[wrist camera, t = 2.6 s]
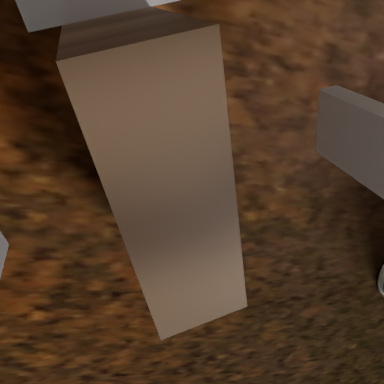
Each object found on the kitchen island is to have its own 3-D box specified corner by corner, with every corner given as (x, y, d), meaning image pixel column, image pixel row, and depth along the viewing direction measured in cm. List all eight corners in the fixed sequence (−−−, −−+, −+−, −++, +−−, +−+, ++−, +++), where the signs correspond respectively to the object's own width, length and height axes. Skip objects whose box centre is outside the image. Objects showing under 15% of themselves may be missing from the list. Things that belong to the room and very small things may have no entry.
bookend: (207, 192, 19) (275, 295, 13) (107, 224, 18) (128, 352, 12) (132, -269, 10) (258, -762, 3) (-85, -255, 9) (-510, -920, 2)
